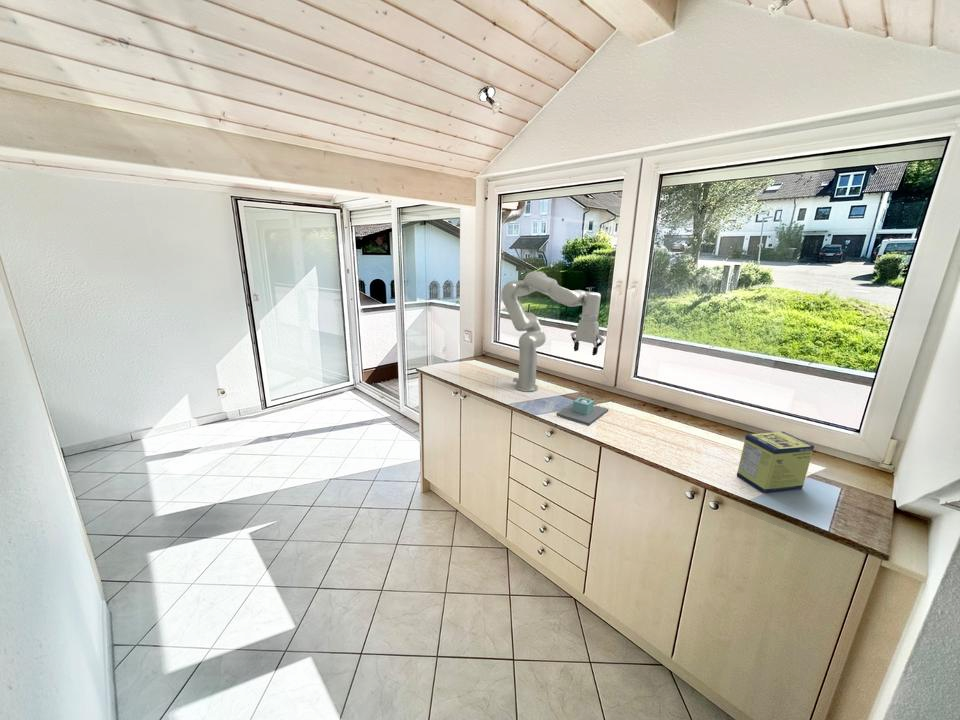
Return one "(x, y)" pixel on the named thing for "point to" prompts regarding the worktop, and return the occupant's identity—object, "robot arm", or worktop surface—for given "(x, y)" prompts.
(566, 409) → the board
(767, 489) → the protein box
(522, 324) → the robot arm
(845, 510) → the worktop surface
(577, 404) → the spool collar
